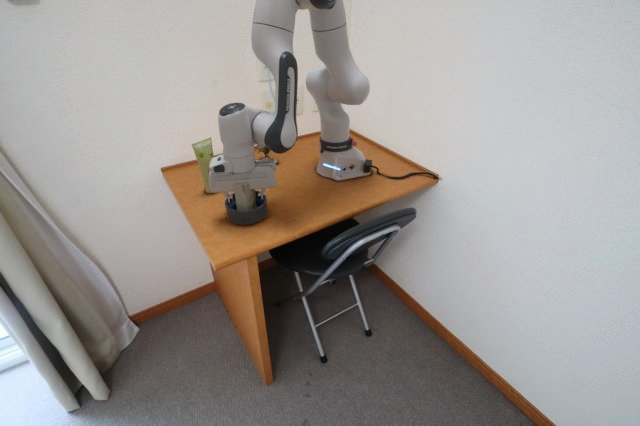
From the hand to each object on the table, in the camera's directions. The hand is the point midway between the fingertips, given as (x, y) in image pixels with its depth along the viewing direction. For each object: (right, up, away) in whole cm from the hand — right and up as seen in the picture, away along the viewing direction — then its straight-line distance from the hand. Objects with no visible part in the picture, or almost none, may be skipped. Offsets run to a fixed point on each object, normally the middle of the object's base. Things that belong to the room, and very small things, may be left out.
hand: (246, 200), depth 101 cm
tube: (-16, +4, +16) cm, 23 cm away
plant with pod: (0, +18, +36) cm, 40 cm away
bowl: (0, -4, +3) cm, 5 cm away
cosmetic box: (0, -4, +3) cm, 5 cm away
